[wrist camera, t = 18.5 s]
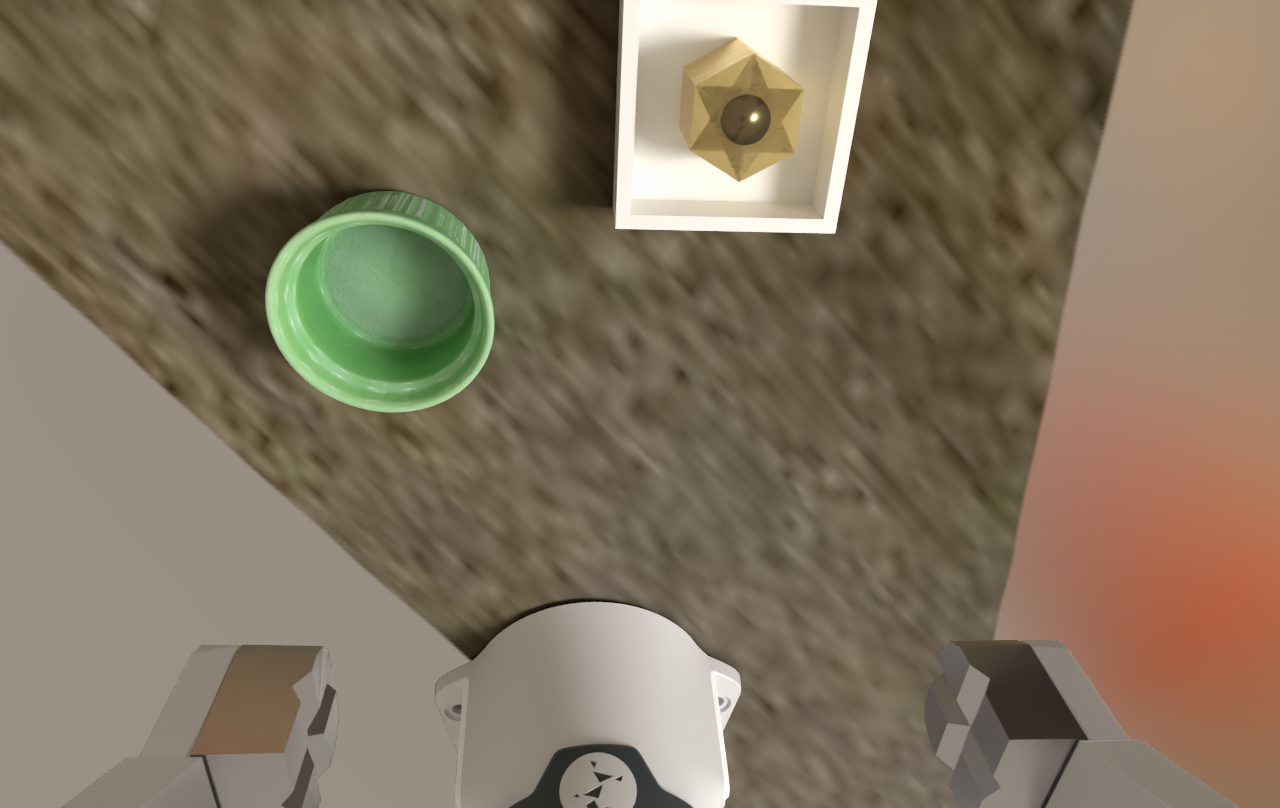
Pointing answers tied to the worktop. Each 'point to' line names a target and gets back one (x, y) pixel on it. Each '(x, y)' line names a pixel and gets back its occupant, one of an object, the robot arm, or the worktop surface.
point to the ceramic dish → (689, 185)
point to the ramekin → (383, 303)
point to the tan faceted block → (739, 110)
